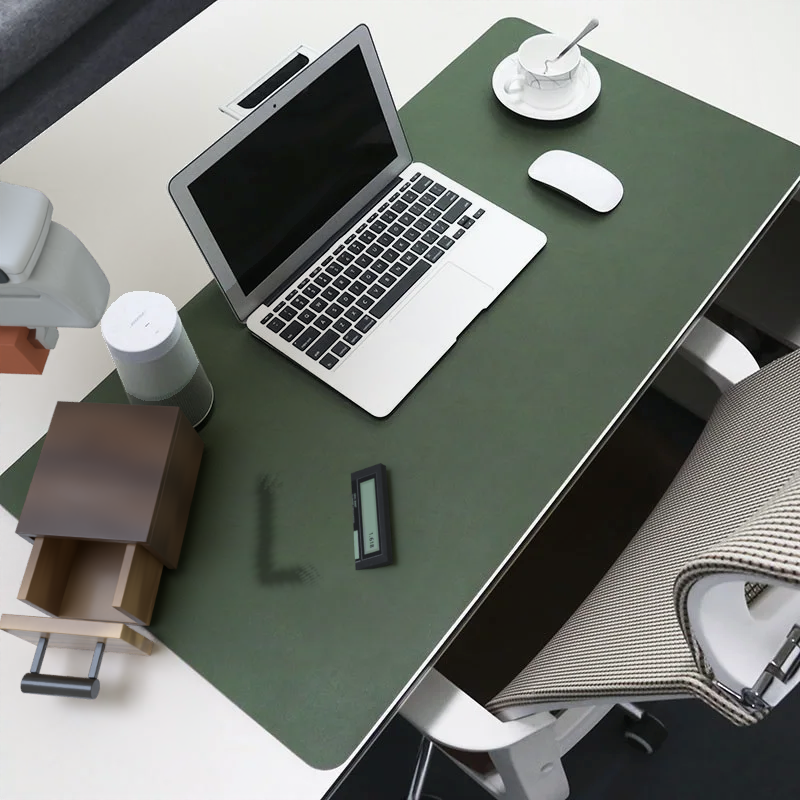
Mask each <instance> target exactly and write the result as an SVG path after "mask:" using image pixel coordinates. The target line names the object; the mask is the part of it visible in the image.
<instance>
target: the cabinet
mask: <svg viewBox="0 0 800 800" xmlns="http://www.w3.org/2000/svg"><path fill="white" fill-rule="evenodd" d="M45 435H46V436H45V438H44V441H43V444H42V448H41V451H40V454H39V457H38V460H37V463H36V467H35V469H34V472H33V476H32V478H31V482H30V485H29V487H28V491H27V493H26V496H25V500H24V504H23V506H22V509H21V511H20V515H19V519H18V522H17V525H16V528H15V531H14V533H15V534H16V535H17V536H19V537H20V538H22V539H23V540H25V541H26V542H28V543H29V544H31V545H32V546H33V544H34V541H35V538H36V537H45V538H60V539H74V540H89V541H103V542H118V543H132V544H141V545H142V546H143V547H145V548H146V549H147V550H148V551H149V552H150V553H151V554H152V555H154V556H155V557H156V558H157V559H158V560H159V561H160V562H161V563H163V564H164V565H163V566H164V567H166V568H167V569H168V570H177V569H178V565H179V560H180V555H181V551H182V546H183V542H184V537H185V533H186V529H187V524H188V519H189V515H190V511H191V506H192V502H193V499H194V498H193V497H194V492H195V489H196V484H197V481H198V480H197V479H198V475H199V471H200V467H201V462H202V457H203V453H204V449H205V442H204V440H203V439H202V438H201V436H200V435H199V433H198V432H197V430H196V429H195V428H194V426H193V425H192V423H191V422H190V420H189V418H188V417H187V416H186V414H185V413H184V412H183V410H182V409H181V407H180V406H172V405H171V406H168V405H148V404H147V405H146V404H130V403H129V404H126V403H107V402H89V401H87V402H85V401H69V400H68V401H67V400H66V401H65V400H57V401H56V403H55V407H54V411H53V413H52V417H51V420H50V423H49V425H48V428H47V432H46V434H45Z"/></svg>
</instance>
